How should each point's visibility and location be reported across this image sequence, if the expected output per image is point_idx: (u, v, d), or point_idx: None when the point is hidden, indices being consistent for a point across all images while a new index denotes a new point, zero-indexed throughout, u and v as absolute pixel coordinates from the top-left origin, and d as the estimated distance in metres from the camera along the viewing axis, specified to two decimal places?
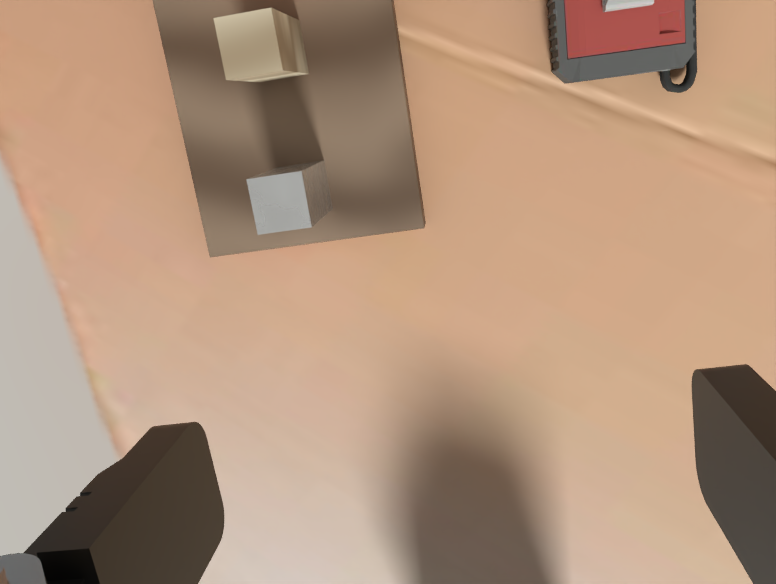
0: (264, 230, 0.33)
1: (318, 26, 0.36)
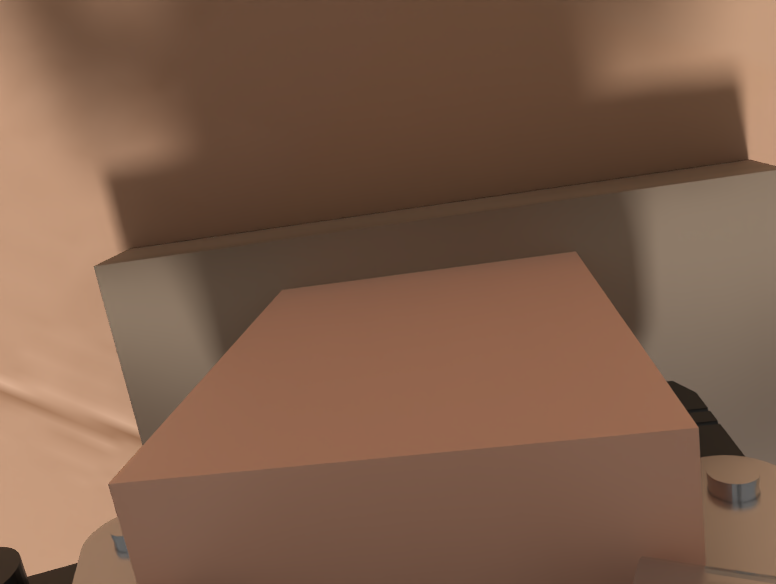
0: None
1: None
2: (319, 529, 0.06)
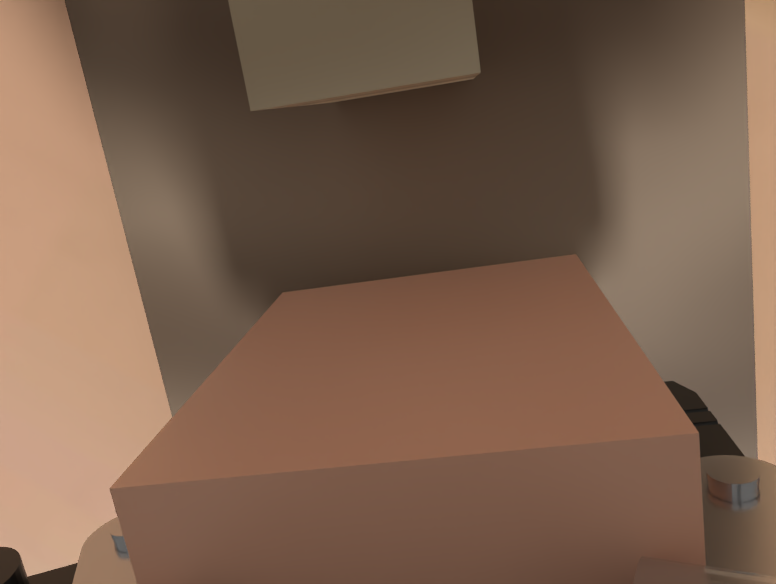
0: None
1: None
2: (320, 534, 0.06)
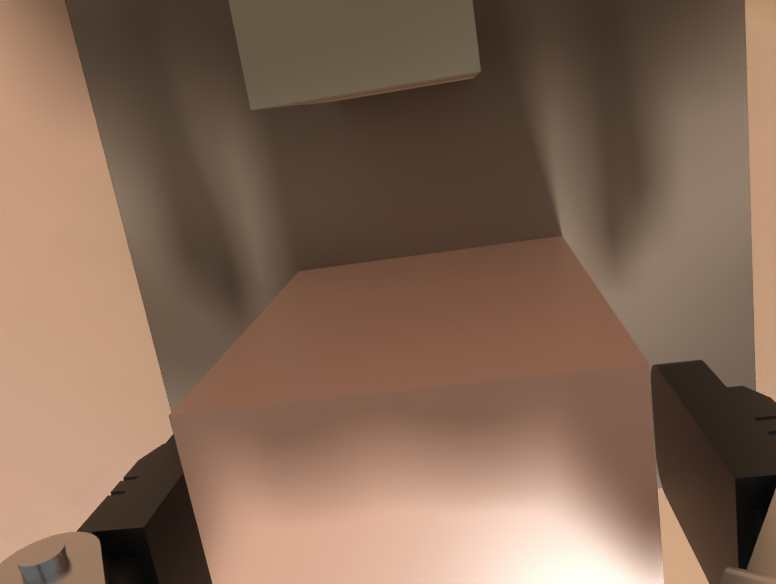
0: None
1: None
2: (342, 451, 0.08)
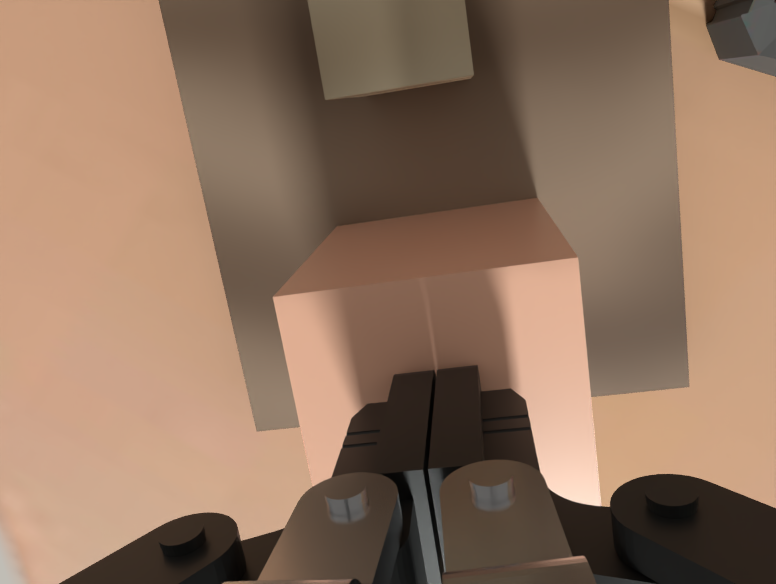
0: None
1: None
2: (384, 319, 0.12)
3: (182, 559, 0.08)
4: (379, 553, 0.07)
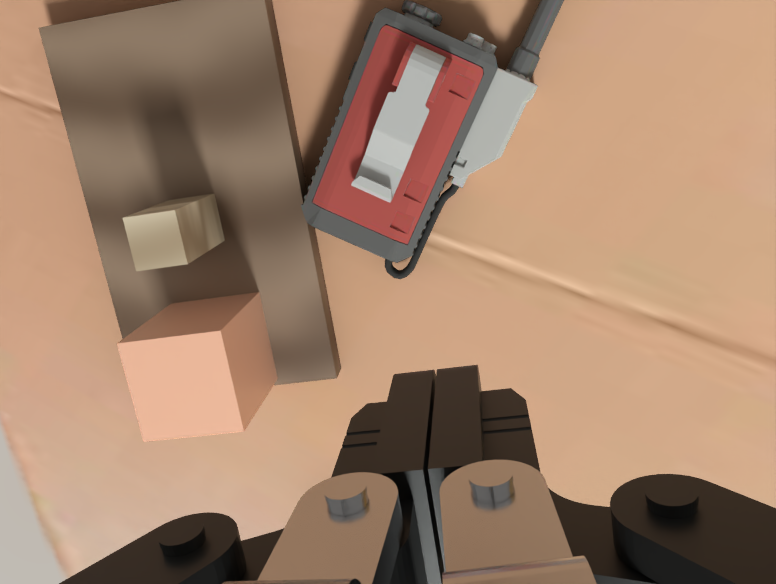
0: None
1: (232, 199, 0.38)
2: (157, 351, 0.34)
3: (182, 559, 0.08)
4: (379, 553, 0.07)
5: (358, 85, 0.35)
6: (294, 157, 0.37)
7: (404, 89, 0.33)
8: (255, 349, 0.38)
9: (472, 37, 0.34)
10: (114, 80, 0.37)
